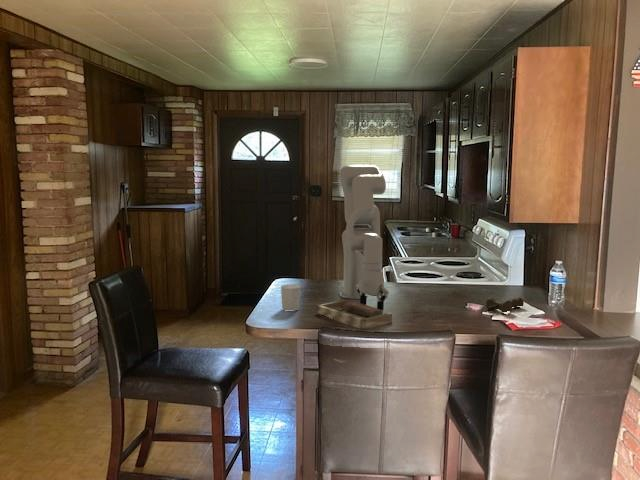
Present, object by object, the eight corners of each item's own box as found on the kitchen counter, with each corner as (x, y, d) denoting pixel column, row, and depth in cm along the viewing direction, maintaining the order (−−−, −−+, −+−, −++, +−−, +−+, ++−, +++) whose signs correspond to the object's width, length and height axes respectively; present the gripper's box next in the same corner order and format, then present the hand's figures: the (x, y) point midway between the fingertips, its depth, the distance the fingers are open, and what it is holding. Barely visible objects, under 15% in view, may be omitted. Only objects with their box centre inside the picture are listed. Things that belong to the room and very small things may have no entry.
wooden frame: (316, 313, 212) (316, 305, 212) (344, 307, 222) (344, 299, 221) (363, 329, 192) (363, 320, 191) (391, 322, 201) (392, 313, 201)
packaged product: (339, 303, 212) (357, 299, 218) (339, 314, 213) (357, 310, 219) (371, 312, 198) (389, 308, 204) (370, 325, 199) (388, 320, 205)
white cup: (302, 308, 220) (302, 285, 219) (295, 313, 213) (295, 289, 212) (285, 306, 223) (285, 283, 222) (278, 311, 216) (277, 287, 214)
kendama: (528, 311, 221) (498, 317, 210) (509, 307, 229) (478, 312, 218) (529, 297, 220) (498, 302, 209) (510, 293, 228) (479, 298, 217)
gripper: (350, 264, 215) (350, 305, 217) (381, 270, 202) (380, 314, 204) (363, 262, 219) (363, 302, 222) (394, 268, 206) (393, 310, 209)
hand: (371, 307), depth 213 cm, fingers open, 9 cm apart
